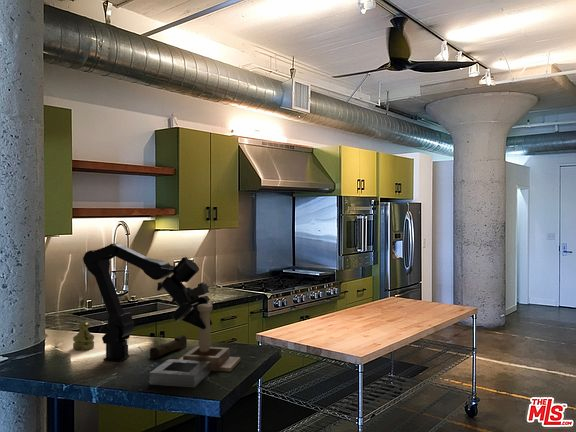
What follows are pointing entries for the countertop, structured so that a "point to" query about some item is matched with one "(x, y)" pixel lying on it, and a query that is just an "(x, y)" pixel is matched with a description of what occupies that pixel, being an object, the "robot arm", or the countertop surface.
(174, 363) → the socket block
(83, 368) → the countertop surface
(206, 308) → the handle
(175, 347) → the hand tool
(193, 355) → the tan piece
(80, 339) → the olive green tiered piece
